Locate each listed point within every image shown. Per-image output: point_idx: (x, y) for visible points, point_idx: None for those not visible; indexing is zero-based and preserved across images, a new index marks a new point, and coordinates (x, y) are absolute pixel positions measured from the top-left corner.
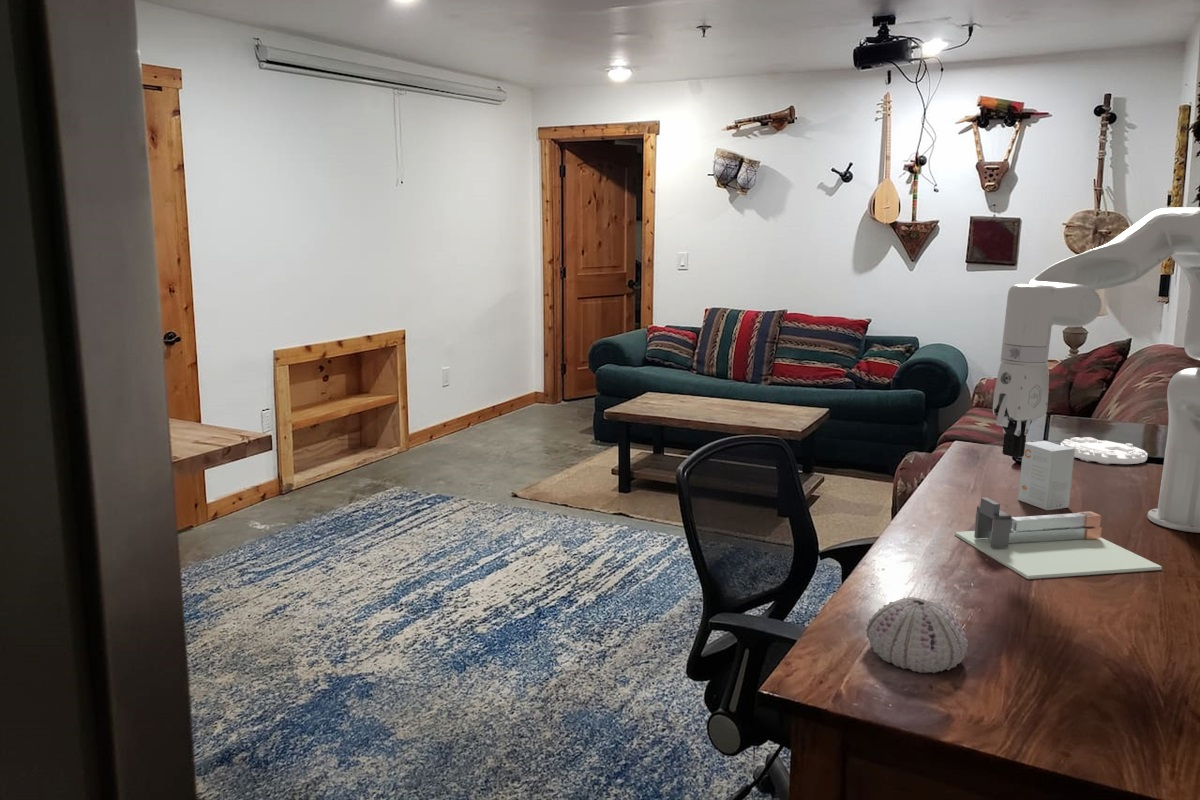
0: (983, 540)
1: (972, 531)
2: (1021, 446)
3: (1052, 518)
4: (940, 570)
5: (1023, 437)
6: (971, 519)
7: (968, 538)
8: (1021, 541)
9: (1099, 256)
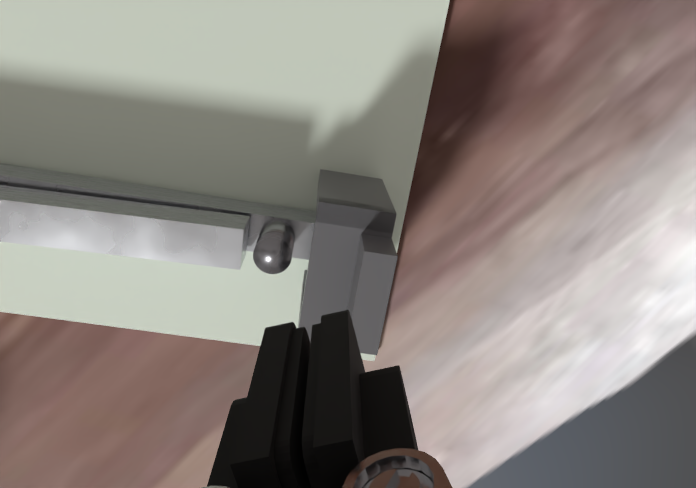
0: None
1: None
2: (319, 364)
3: (56, 206)
4: (687, 99)
5: (279, 444)
6: (202, 456)
7: None
8: (226, 199)
9: None
